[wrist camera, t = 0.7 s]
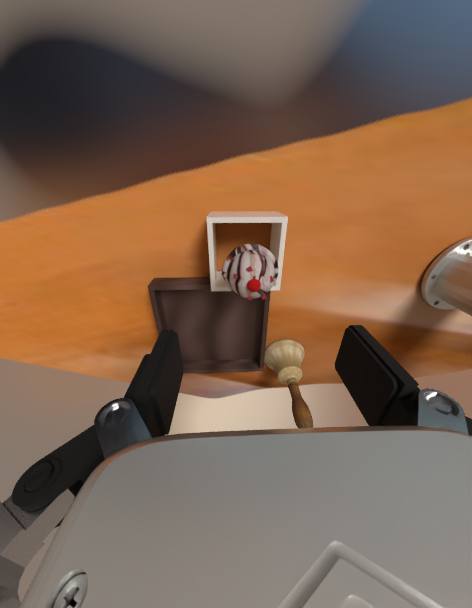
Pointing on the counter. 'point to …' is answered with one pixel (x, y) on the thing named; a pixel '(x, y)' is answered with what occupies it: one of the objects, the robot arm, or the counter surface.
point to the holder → (246, 217)
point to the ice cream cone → (250, 271)
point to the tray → (211, 324)
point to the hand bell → (290, 375)
